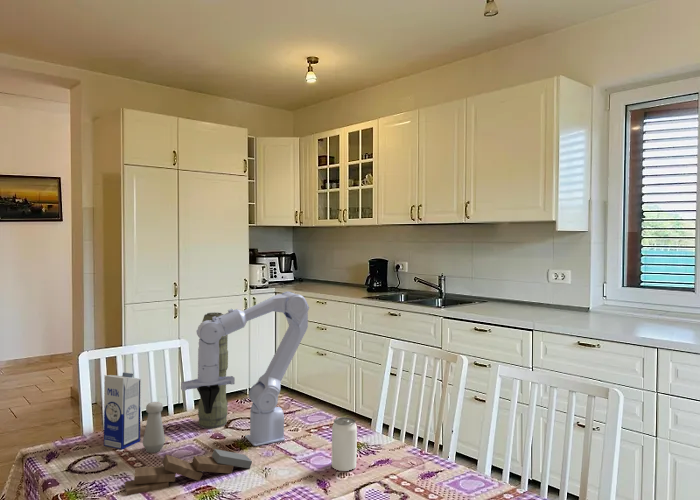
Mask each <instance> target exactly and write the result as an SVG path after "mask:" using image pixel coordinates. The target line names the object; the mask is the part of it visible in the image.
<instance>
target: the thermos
mask: <svg viewBox="0 0 700 500" xmlns="http://www.w3.org/2000/svg"><path fill="white" fill-rule="evenodd" d="M223 314H224V313H222V312H207V313H205V314H204V316H203V318H202V321H201V323H202V322H203V321H206V320H209V321H210V320H211V321H213V319H212V317H219V316H221V315H223ZM228 335H229V334H228ZM228 335H225V336H222V337H221V339H220V340H219V377H227V370H228V368H229V350H228V339H229V338H228V337H229V336H228ZM218 387H219V388H220V390H219V393H218V394H217V396H216V398H215V401H214V403H213V407H212V411H211V413H209V414H206V413H205V412H204V406H203V402H202V399H201V396H200V395H199V397H200V398H199V400H198V402H197V403H198V404H197V405H198V406H197V407H198V408H197V410H198V411H197V413H198V414H197V416H198V426H199V427H200V428H203V429H218V428H221V427H224V426H225V425H227V424H228V420H227V419H228V418H227V417H228V405H229V404H228V400H227V385H219V386H218Z"/></svg>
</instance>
